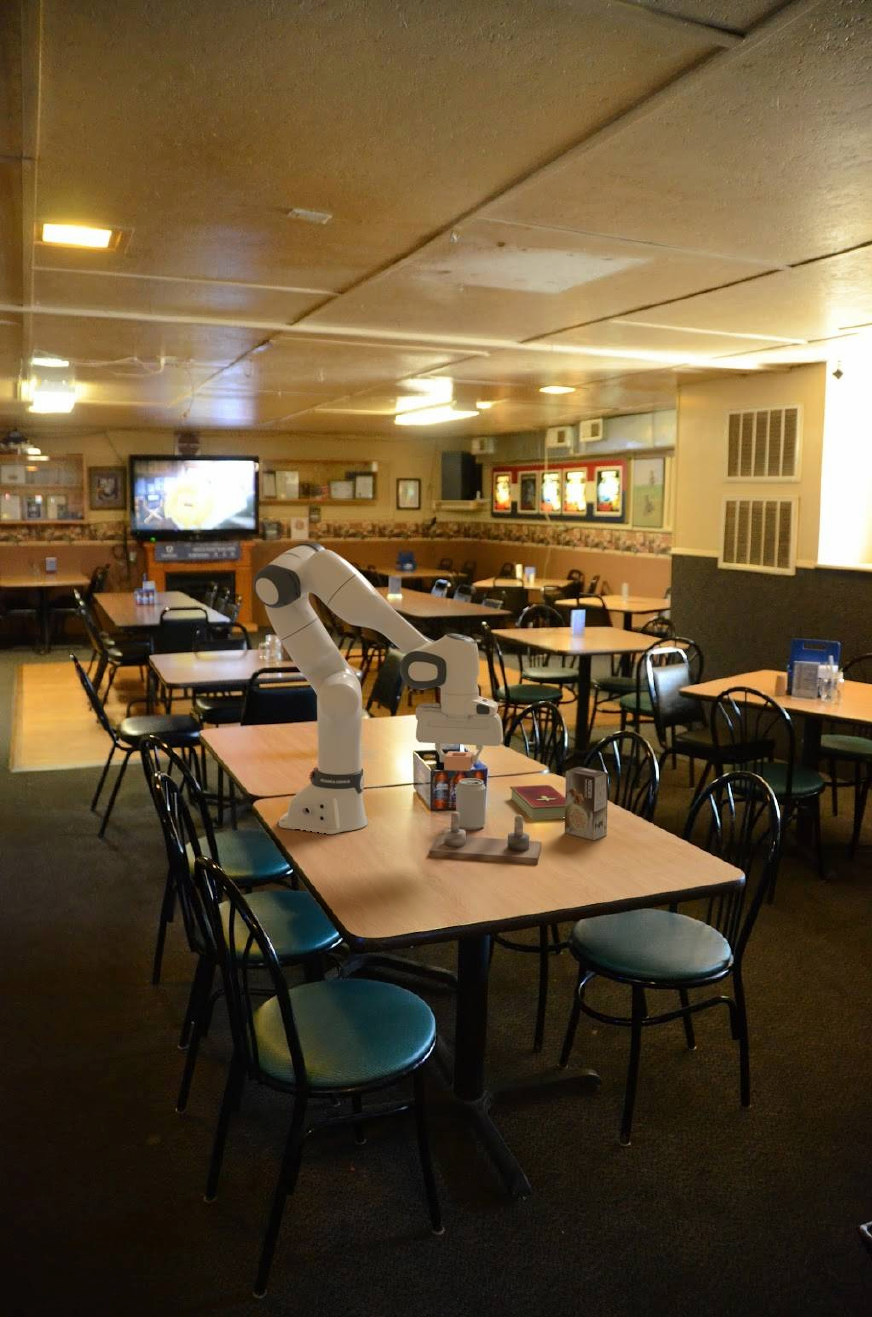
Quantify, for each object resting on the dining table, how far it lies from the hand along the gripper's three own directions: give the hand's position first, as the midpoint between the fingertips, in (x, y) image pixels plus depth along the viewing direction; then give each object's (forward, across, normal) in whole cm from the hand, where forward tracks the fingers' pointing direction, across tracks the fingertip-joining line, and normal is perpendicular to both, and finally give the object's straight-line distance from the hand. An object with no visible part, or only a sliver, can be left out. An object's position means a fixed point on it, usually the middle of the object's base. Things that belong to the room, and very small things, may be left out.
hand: (459, 762), depth 235 cm
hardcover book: (+22, +17, +40) cm, 48 cm away
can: (+22, 0, +19) cm, 29 cm away
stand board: (+21, +7, 0) cm, 22 cm away
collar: (+1, 0, 0) cm, 1 cm away
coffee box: (+22, +29, +19) cm, 41 cm away
